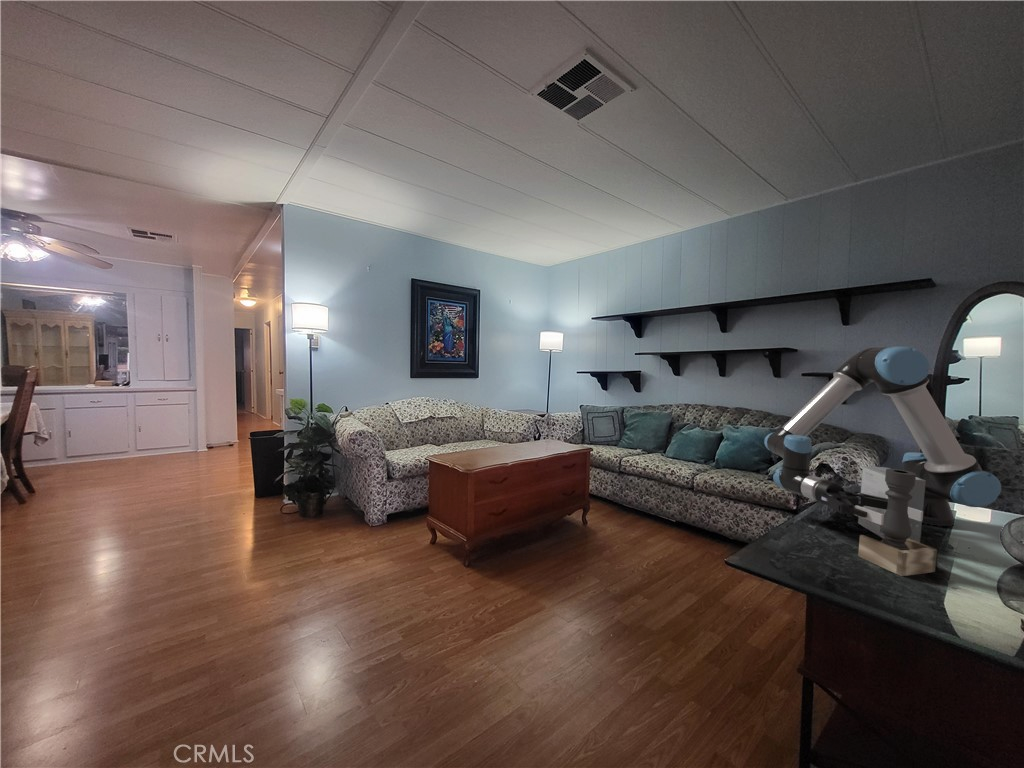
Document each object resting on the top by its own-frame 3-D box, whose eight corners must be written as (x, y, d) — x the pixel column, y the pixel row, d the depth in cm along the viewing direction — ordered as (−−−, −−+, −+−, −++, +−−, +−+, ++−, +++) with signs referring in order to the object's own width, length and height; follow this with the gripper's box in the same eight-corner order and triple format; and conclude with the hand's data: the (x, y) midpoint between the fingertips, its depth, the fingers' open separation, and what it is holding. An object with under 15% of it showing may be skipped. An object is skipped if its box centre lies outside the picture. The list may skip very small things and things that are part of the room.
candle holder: (877, 554, 110) (885, 467, 108) (908, 563, 106) (917, 472, 104) (876, 562, 106) (884, 471, 104) (908, 571, 101) (917, 476, 100)
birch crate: (889, 552, 111) (891, 532, 111) (934, 571, 101) (937, 549, 101) (858, 556, 109) (859, 535, 108) (901, 576, 99) (903, 553, 98)
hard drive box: (921, 547, 115) (927, 480, 114) (890, 544, 117) (896, 478, 115) (882, 525, 130) (888, 466, 129) (856, 523, 132) (861, 464, 130)
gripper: (853, 500, 127) (936, 528, 106) (789, 504, 121) (864, 535, 101) (855, 477, 126) (938, 501, 106) (791, 481, 121) (866, 507, 100)
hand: (902, 518), depth 103 cm, fingers open, 13 cm apart
